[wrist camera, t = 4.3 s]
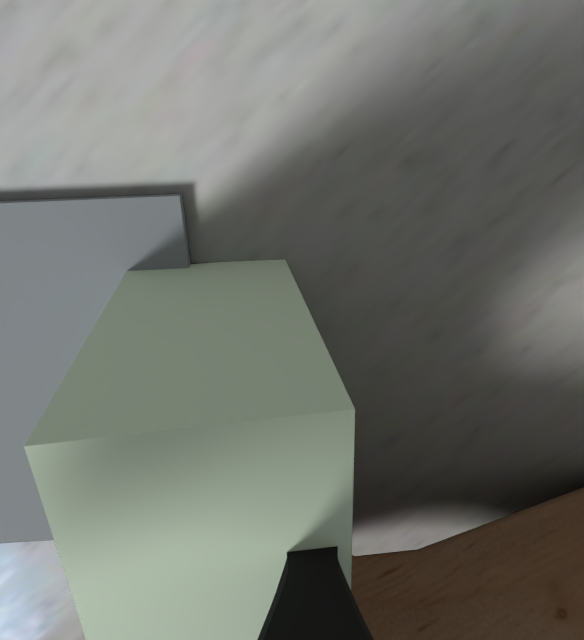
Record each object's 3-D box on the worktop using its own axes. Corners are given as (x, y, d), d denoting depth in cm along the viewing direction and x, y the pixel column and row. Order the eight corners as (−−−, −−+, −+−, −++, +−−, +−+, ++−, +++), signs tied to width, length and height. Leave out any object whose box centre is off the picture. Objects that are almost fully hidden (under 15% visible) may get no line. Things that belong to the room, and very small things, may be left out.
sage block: (283, 257, 14) (355, 409, 7) (293, 470, 17) (348, 728, 10) (127, 268, 14) (23, 447, 6) (166, 486, 17) (128, 769, 9)
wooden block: (126, 515, 16) (544, 397, 21) (146, 607, 17) (527, 475, 23) (159, 905, 8) (799, 555, 14) (189, 999, 10) (744, 655, 15)
